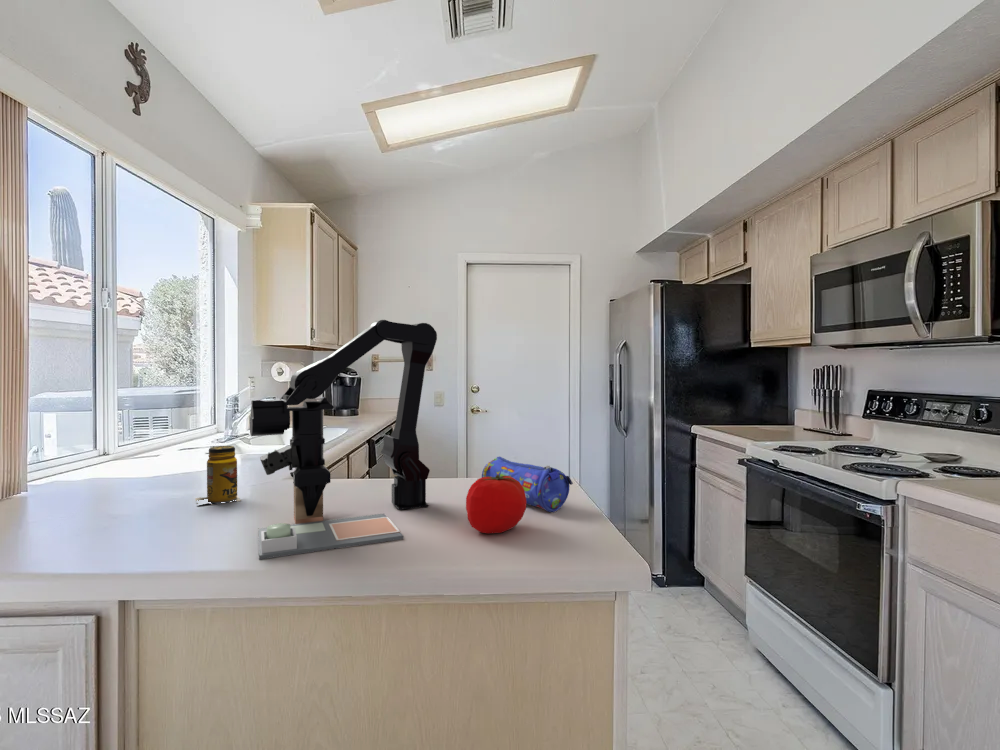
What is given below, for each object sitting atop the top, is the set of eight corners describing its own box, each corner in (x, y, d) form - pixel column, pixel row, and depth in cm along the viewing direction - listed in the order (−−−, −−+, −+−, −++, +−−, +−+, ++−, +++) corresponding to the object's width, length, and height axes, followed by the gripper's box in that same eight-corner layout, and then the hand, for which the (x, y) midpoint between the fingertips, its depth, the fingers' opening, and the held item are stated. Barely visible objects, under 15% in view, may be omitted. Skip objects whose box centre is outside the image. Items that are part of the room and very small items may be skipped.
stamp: (320, 514, 107) (320, 480, 107) (323, 521, 102) (323, 485, 102) (293, 517, 105) (293, 483, 105) (295, 524, 100) (295, 488, 100)
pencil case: (574, 510, 112) (574, 465, 111) (544, 517, 106) (545, 470, 106) (506, 490, 128) (506, 451, 128) (478, 496, 123) (478, 455, 123)
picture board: (383, 516, 106) (383, 503, 106) (403, 538, 92) (403, 524, 92) (258, 531, 96) (258, 517, 96) (259, 559, 83) (258, 542, 83)
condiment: (241, 501, 117) (240, 447, 117) (197, 507, 113) (196, 451, 112) (236, 494, 123) (236, 443, 123) (195, 499, 119) (194, 446, 119)
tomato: (450, 531, 96) (450, 476, 96) (494, 516, 106) (495, 466, 106) (496, 545, 89) (497, 485, 89) (540, 527, 99) (540, 473, 99)
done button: (289, 533, 89) (289, 522, 89) (291, 540, 86) (291, 528, 86) (266, 536, 88) (266, 524, 88) (267, 543, 85) (267, 531, 85)
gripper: (262, 429, 108) (262, 505, 109) (263, 441, 91) (264, 531, 92) (319, 426, 113) (319, 499, 113) (330, 438, 96) (331, 523, 96)
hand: (308, 512), depth 104 cm, fingers closed on stamp, 5 cm apart
